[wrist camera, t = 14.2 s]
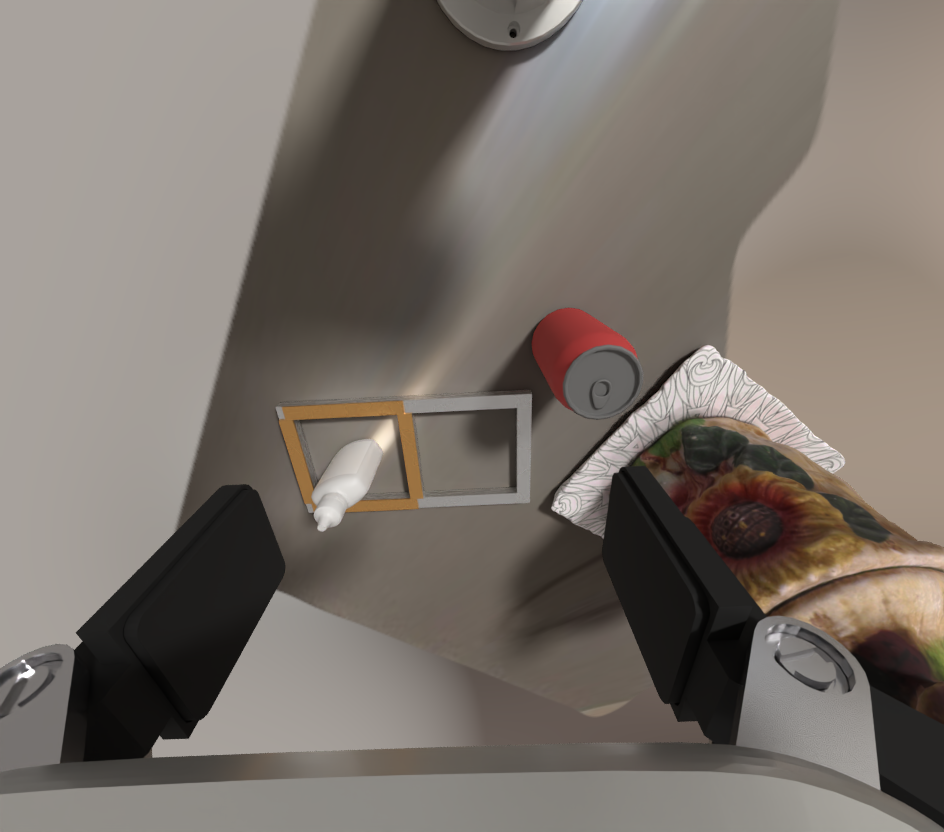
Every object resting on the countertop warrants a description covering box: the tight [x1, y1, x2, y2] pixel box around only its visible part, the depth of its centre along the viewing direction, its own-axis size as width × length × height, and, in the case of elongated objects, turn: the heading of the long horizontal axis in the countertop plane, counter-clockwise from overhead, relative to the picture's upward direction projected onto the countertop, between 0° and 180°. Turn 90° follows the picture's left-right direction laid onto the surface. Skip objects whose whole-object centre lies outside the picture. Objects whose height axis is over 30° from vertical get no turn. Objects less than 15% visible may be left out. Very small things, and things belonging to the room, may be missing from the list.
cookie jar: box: [551, 345, 944, 725], centre depth 29 cm, size 25×25×32 cm
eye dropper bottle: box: [311, 439, 383, 531], centre depth 37 cm, size 4×6×12 cm
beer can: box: [532, 308, 643, 420], centre depth 31 cm, size 7×7×12 cm
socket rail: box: [275, 390, 532, 513], centre depth 41 cm, size 14×26×1 cm, turn 93°
